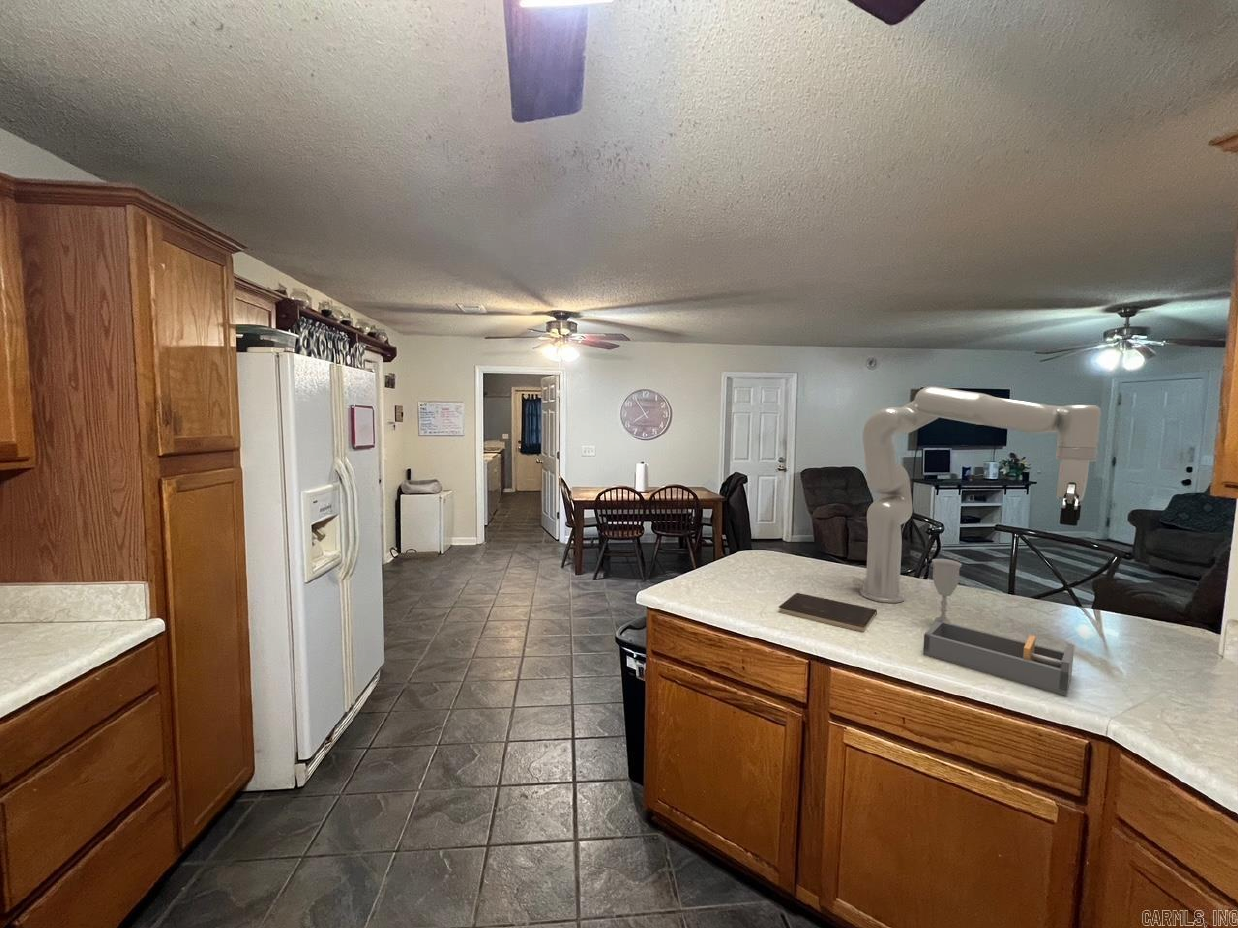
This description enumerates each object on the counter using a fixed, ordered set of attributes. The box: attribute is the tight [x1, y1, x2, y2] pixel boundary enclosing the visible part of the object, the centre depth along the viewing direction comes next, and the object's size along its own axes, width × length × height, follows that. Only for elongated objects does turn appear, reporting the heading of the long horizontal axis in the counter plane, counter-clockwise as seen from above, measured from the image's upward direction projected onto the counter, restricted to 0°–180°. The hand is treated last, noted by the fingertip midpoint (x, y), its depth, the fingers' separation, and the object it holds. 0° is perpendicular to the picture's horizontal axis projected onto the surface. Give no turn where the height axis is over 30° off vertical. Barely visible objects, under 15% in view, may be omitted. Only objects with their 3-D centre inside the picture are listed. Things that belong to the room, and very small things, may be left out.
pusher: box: [1023, 634, 1062, 666], centre depth 111 cm, size 6×9×6 cm
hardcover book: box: [778, 592, 878, 633], centre depth 148 cm, size 16×23×2 cm
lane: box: [922, 620, 1075, 697], centre depth 117 cm, size 26×12×7 cm, turn 45°
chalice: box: [931, 558, 963, 627], centre depth 138 cm, size 7×7×18 cm
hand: (1069, 522), depth 129 cm, fingers open, 9 cm apart
